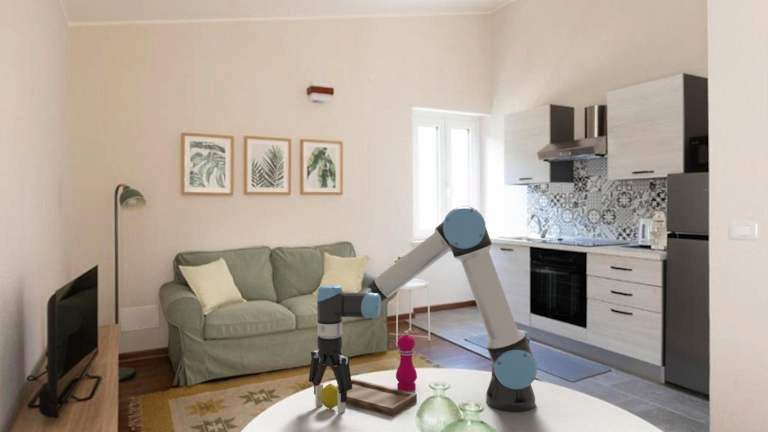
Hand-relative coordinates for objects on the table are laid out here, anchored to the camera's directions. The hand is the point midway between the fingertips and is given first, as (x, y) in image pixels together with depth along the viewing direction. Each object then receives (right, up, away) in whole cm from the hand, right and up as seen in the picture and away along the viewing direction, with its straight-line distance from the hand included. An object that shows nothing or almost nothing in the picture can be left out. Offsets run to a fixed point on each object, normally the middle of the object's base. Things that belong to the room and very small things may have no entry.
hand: (330, 408), depth 157 cm
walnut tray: (+12, 0, +7) cm, 14 cm away
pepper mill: (+24, 0, +17) cm, 30 cm away
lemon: (0, 0, 0) cm, 0 cm away
